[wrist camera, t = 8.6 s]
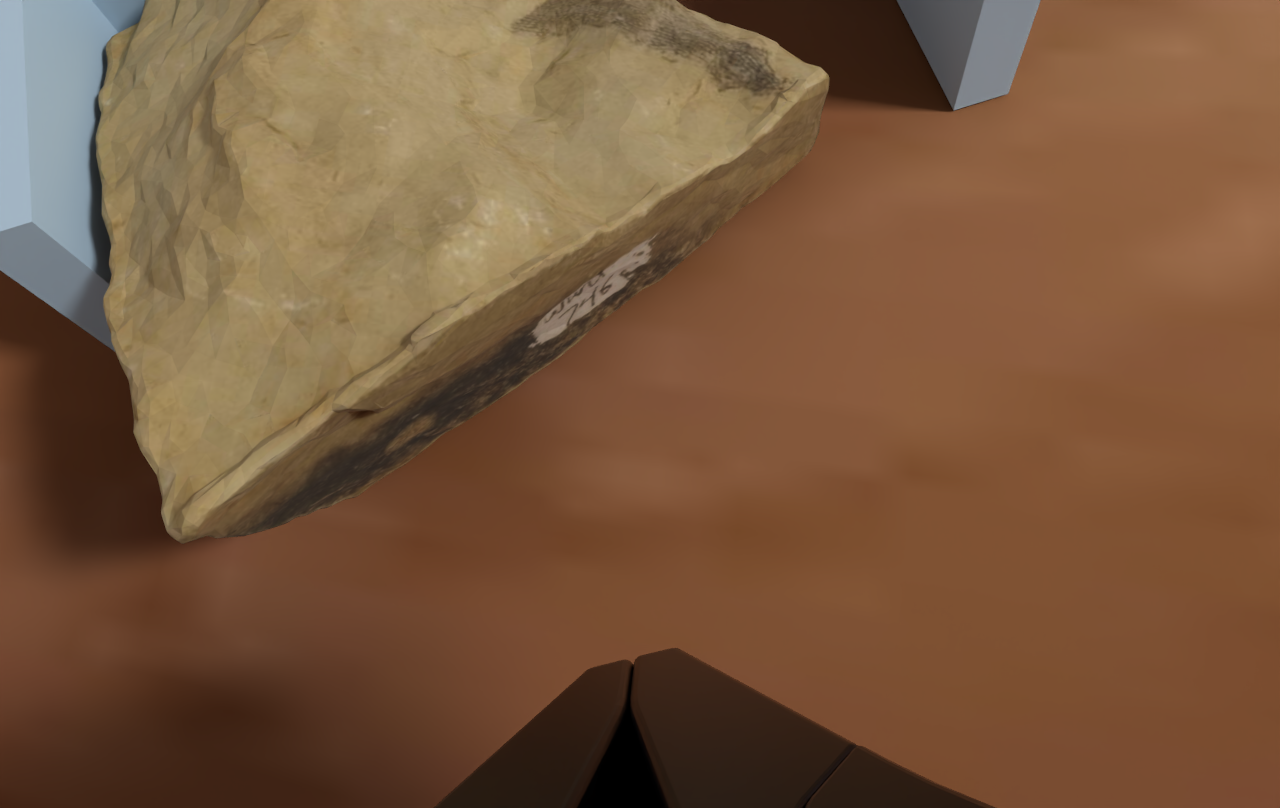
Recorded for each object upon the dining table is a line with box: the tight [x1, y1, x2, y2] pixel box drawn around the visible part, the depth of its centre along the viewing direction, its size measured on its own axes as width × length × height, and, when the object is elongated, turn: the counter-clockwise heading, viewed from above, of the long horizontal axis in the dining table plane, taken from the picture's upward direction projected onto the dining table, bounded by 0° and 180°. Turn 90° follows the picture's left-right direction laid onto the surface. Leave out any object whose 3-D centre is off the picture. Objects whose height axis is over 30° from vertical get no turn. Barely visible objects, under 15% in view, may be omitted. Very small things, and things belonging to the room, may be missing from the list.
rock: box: [96, 0, 829, 544], centre depth 15 cm, size 11×9×10 cm
